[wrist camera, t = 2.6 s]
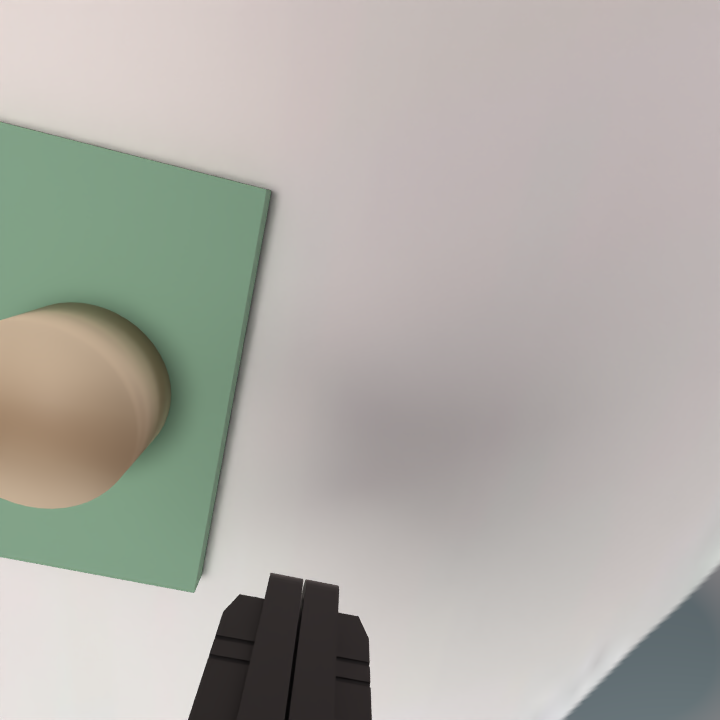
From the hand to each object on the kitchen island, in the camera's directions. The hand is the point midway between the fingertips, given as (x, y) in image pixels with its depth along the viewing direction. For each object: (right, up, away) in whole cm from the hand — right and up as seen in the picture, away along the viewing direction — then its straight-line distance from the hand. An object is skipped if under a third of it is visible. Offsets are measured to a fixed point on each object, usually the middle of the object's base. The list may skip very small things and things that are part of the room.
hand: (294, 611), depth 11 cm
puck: (-8, +4, +7) cm, 12 cm away
